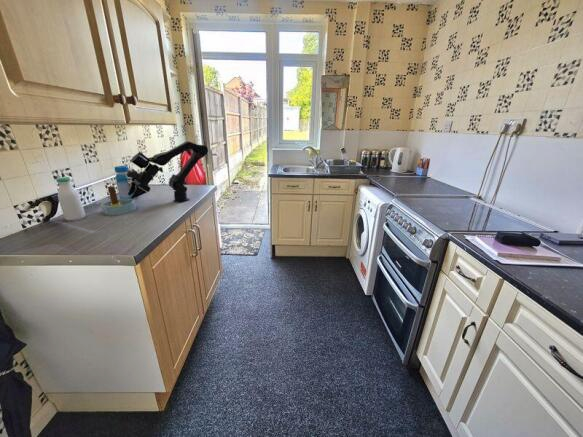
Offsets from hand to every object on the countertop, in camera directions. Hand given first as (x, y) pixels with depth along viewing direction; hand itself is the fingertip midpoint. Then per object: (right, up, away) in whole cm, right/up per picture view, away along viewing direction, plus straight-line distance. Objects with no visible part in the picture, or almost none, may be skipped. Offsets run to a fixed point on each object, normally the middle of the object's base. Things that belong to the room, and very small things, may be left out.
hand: (130, 196), depth 131 cm
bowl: (-4, -8, -1) cm, 9 cm away
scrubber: (-6, -8, -2) cm, 10 cm away
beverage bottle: (-14, 0, +20) cm, 25 cm away
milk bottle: (-19, -12, -11) cm, 25 cm away
